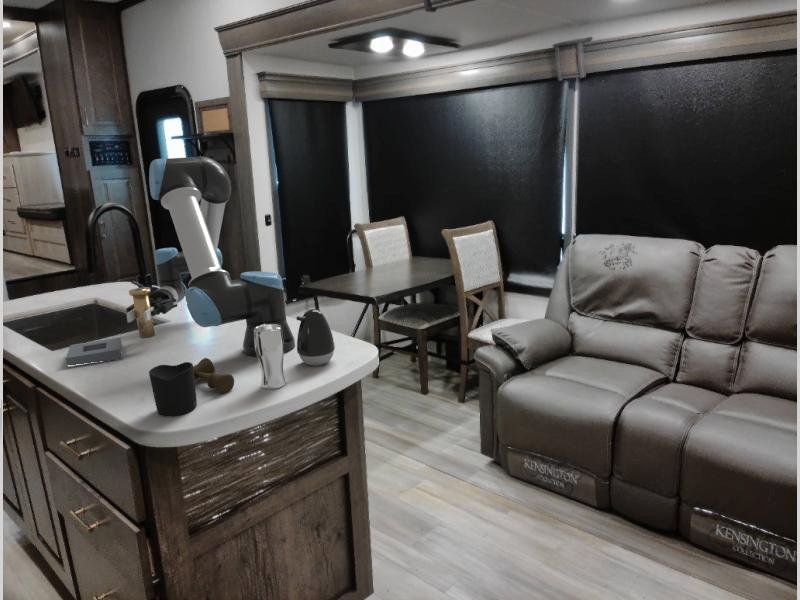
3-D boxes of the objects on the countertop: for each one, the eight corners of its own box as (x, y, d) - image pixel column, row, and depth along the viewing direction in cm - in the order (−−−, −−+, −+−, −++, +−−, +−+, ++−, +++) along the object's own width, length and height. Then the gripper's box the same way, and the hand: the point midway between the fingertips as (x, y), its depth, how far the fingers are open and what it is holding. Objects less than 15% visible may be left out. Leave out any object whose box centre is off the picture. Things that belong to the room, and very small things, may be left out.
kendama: (211, 402, 140) (164, 384, 152) (244, 389, 148) (196, 373, 160) (209, 378, 139) (161, 362, 151) (242, 367, 147) (194, 352, 158)
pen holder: (175, 421, 130) (168, 378, 127) (146, 413, 134) (139, 372, 132) (207, 404, 138) (201, 364, 135) (179, 398, 142) (173, 359, 140)
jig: (121, 359, 174) (119, 349, 173) (67, 368, 169) (65, 358, 168) (122, 346, 187) (120, 337, 186) (72, 354, 181) (70, 344, 181)
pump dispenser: (290, 364, 161) (284, 311, 158) (319, 353, 169) (315, 302, 165) (314, 372, 154) (308, 316, 151) (343, 360, 162) (339, 307, 158)
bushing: (158, 337, 179) (150, 289, 176) (136, 340, 177) (128, 292, 173) (157, 332, 184) (150, 286, 181) (137, 335, 182) (128, 288, 179)
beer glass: (279, 391, 143) (272, 332, 139) (254, 389, 145) (247, 331, 142) (292, 380, 149) (286, 324, 146) (269, 378, 152) (262, 323, 148)
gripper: (191, 308, 198) (168, 327, 175) (138, 312, 197) (109, 331, 174) (187, 286, 196) (164, 302, 173) (134, 290, 195) (104, 307, 172)
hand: (137, 317), depth 174 cm, fingers closed on bushing, 4 cm apart
